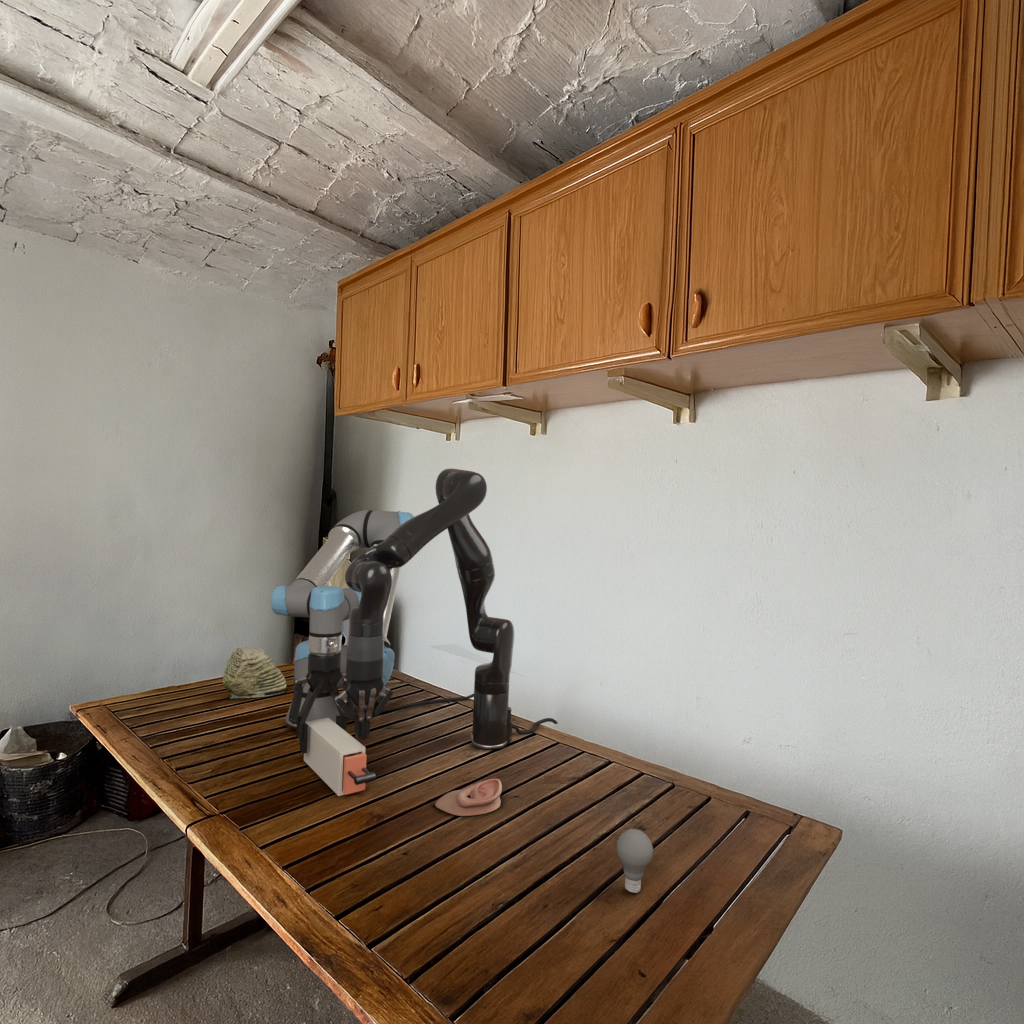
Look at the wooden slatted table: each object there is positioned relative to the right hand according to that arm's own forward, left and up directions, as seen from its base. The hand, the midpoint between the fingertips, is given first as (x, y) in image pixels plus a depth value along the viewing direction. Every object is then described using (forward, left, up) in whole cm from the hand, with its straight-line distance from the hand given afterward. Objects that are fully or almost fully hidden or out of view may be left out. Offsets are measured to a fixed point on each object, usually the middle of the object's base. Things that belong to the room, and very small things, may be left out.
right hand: (362, 737), depth 133 cm
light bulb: (-29, +51, -13) cm, 60 cm away
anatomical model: (-20, +12, -13) cm, 27 cm away
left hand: (+2, -22, -10) cm, 24 cm away
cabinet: (+1, -15, -13) cm, 20 cm away
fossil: (+6, -81, -13) cm, 83 cm away
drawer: (+1, -10, -13) cm, 16 cm away
